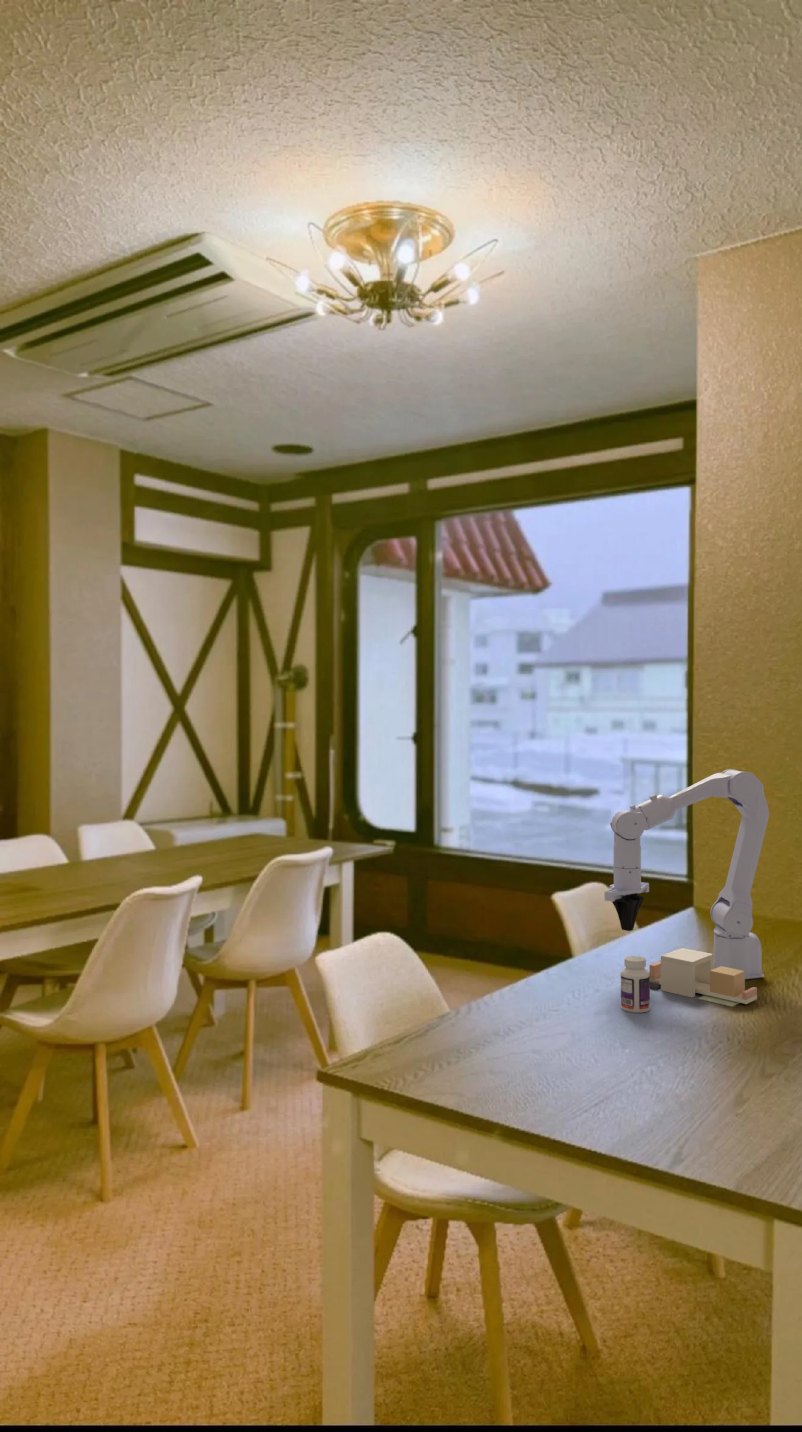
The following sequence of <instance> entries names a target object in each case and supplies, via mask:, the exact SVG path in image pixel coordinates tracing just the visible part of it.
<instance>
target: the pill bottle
mask: <svg viewBox="0 0 802 1432" xmlns="http://www.w3.org/2000/svg"><path fill="white" fill-rule="evenodd" d="M623 960H624V961H623V962H624V967H623V968H622V969H621V971H620V1007H621V1009H622V1010H624V1011H625V1012H628V1013H632V1014H634V1013H635V1014H642V1013H643V1014H644V1013H647V1012H649V1011H650V1009H651V996H650V995H651V992H650V991H651V988H650V975H649V970H647V969H646V967H647V960H646V958H645V957H643V956H640V955H639V956H638V955H637V956H636V955H631V956H630V955H628V956H625V957H624V959H623Z"/></svg>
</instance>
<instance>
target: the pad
mask: <svg viewBox="0 0 802 1432" xmlns="http://www.w3.org/2000/svg"><path fill="white" fill-rule="evenodd" d="M698 1000H700V1001H705V1002H710V1003H714V1004H718V1005H721V1006H722V1005H723V1006H727V1007H732V1008H733V1007H735V1006H737V1005H738V1004H740V1003H739V1002H735V1001H730V1000H726V999H722V998H717V997H713V996H708V995H704V994H703V995H702V996H699V997H698Z"/></svg>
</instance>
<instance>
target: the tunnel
mask: <svg viewBox="0 0 802 1432" xmlns="http://www.w3.org/2000/svg"><path fill="white" fill-rule="evenodd" d="M660 961H661V988H660V991H662V992H667V993H671V994H675V995H679V996H682V997H683V996H684V997H688V998H692V997H693V998H695V997H696V993H695V981H696V982H701V983H705V984H710V970H713V969H714V953H709V952H705V951H701V950H695V949H690V948H684V947H681V948H678V949H675V950H673V951H671V952H668V953H664V954H662V955H660Z"/></svg>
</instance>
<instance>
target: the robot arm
mask: <svg viewBox="0 0 802 1432" xmlns="http://www.w3.org/2000/svg"><path fill="white" fill-rule="evenodd" d="M764 788H765V786H764V785H763V783H762V782H761V780H760V779H759V778H758V777H757V776H756V775H755V774H754V773H752V772H749V771H741V770H738V769H734V768H728V769H725V770H723V771H722V772H716V773H714V774H712V775H709V776H707V777H705V778H703V779H701V780H700V781H698V782H696V783H694V784H692V785H690V786H688V787H685V788H684V789H681V790H680V791H678V792H676V793H674V794H672V795H670V796H667V795H664V794H658V795H657V794H655V793H654V794H651V795H649V796H648V797H649V799H647V800H646V801H643V802H640V803H638V804H632V805H629V810H627V809H626V810H625V809H622V810H618V811H617V812H616V813H615V814H614V816H613V817H612V819H611V822H610V823H609V824H610V829H611V830H612V831H613V842H614V843H613V884H610V885H609V889H608V890H605V891H604V901H605V902H606V901H607V902H611V903H612V905H613V906H614V909H615V910H616V913H617V917H618V921H619V923H620V928H621V930H622V931H627V932H632V931H634V928H635V924H636V920H637V916H638V912H639V910H640V908H641V906H642V905H643V903H644V896H642V895H638V894H642V893H650V883H649V882H644V881H643V882H642V855H641V854H642V845H641V836H642V835H643V834H644V831H649V830H651V829H653V828H655V827H657V826H659V825H663V824H664V823H666V822H669V821H670V820H672V819H673V818H674V816H675V815H676V812H677V811H678V810H682V809H683V808H685V807H688V806H691V805H693V804H695V803H698V802H700V801H702V800H706V799H707V798H711V797H715V798H716V797H717V798H726V799H727V800H728V801H730V802H731V803H732V804H733V805H734V806H735V808H736V809H737V811H738V812H739V813H740V815H741V819H740V824H739V828H738V831H737V836H736V839H735V843H734V848H733V852H732V857H731V861H730V865H729V868H728V873H727V876H726V880H725V885H724V887H723V888H722V889H721V890H720V891H719V893H718V896H717V899H716V900H715V902H714V903H713V904H712V906H711V907H710V912H709V914H710V918H711V921H712V922H713V923H714V924H715V925H714V926H715V927H714V929H713V969H715V968H718V967H720V966H723V967H728V968H733V969H737V970H742V971H745V980H751V979H759V978H764V977H765V974H763V973H762V962H763V961H762V956H763V955H762V944H761V941H760V939H759V937H758V936H757V935H756V934H755V933H753V932H751V930H752V929H753V925H754V917H753V915H752V912H753V906H754V903H753V900H752V896H751V892H752V889H753V884H754V879H755V875H756V871H757V867H758V864H759V859H760V855H761V852H762V846H763V842H764V838H765V834H766V830H767V827H768V822H769V818H770V809H769V806H768V802H767V799H766V795H765V792H764V791H765V789H764Z"/></svg>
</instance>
